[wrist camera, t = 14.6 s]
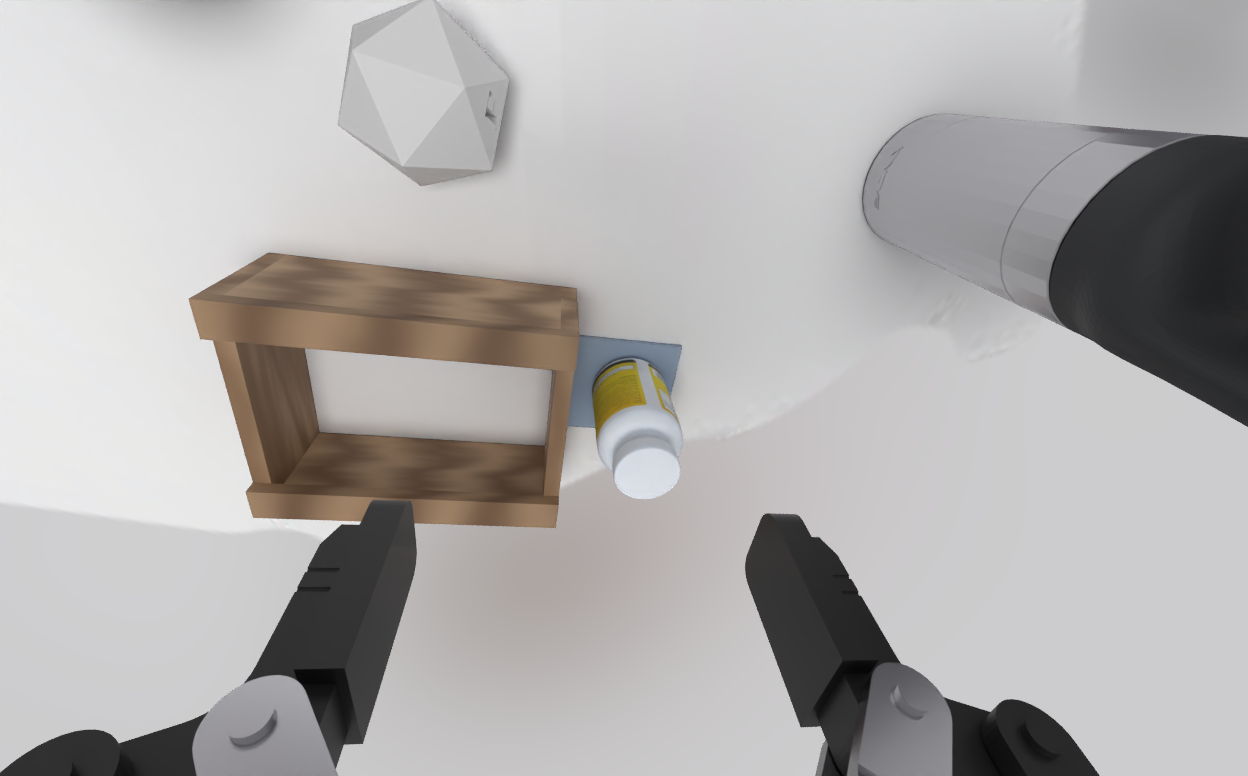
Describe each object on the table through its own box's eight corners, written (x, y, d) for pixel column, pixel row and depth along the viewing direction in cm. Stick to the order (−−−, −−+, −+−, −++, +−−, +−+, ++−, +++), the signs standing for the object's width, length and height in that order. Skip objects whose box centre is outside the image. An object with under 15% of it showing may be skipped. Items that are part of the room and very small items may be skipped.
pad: (681, 345, 43) (682, 347, 43) (660, 429, 48) (661, 432, 47) (576, 334, 42) (577, 336, 41) (566, 423, 46) (566, 425, 46)
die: (449, 202, 36) (522, 202, 29) (304, 152, 30) (354, 137, 23) (471, 77, 35) (554, 47, 28) (326, -3, 28) (386, -69, 21)
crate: (576, 288, 39) (579, 337, 32) (556, 457, 48) (555, 527, 40) (268, 252, 36) (188, 298, 28) (306, 442, 44) (253, 517, 36)
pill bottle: (576, 394, 44) (580, 484, 34) (623, 340, 42) (641, 421, 32) (632, 428, 47) (651, 521, 37) (679, 380, 44) (712, 465, 35)
